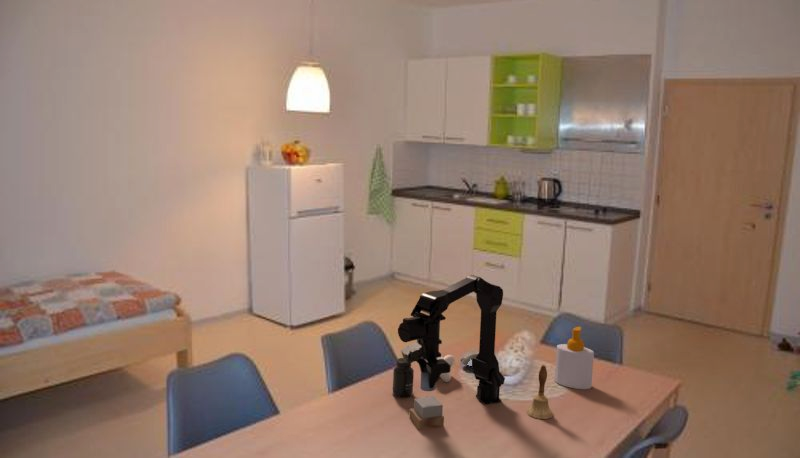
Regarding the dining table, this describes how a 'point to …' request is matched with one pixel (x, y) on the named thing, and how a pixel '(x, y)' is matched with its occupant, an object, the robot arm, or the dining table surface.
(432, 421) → the walnut slab
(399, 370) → the supplement bottle
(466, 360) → the seashell
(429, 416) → the grey slab
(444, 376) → the white knot sculpture
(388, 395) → the dining table surface
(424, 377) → the grey rounded cylinder
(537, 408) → the hand bell
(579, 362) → the soap bottle
